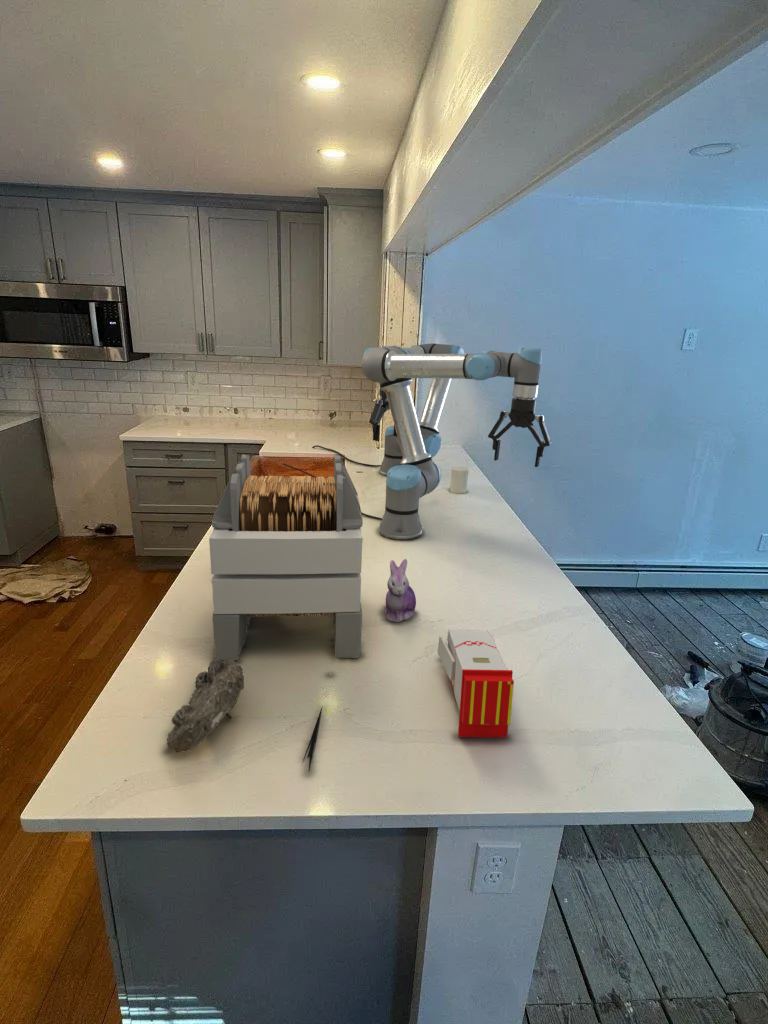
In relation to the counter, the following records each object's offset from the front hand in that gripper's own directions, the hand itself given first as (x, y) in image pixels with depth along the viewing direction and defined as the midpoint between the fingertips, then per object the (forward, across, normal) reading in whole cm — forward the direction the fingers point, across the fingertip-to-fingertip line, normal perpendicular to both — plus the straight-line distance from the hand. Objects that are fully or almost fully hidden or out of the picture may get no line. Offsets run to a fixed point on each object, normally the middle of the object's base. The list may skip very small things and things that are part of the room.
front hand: (516, 462), depth 187 cm
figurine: (+28, +10, +64) cm, 71 cm away
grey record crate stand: (+28, +32, +81) cm, 92 cm away
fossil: (+28, +24, +117) cm, 123 cm away
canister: (+28, +35, -47) cm, 65 cm away
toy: (+28, -16, +85) cm, 91 cm away
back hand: (+4, +60, -24) cm, 65 cm away
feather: (+28, +6, +108) cm, 111 cm away
